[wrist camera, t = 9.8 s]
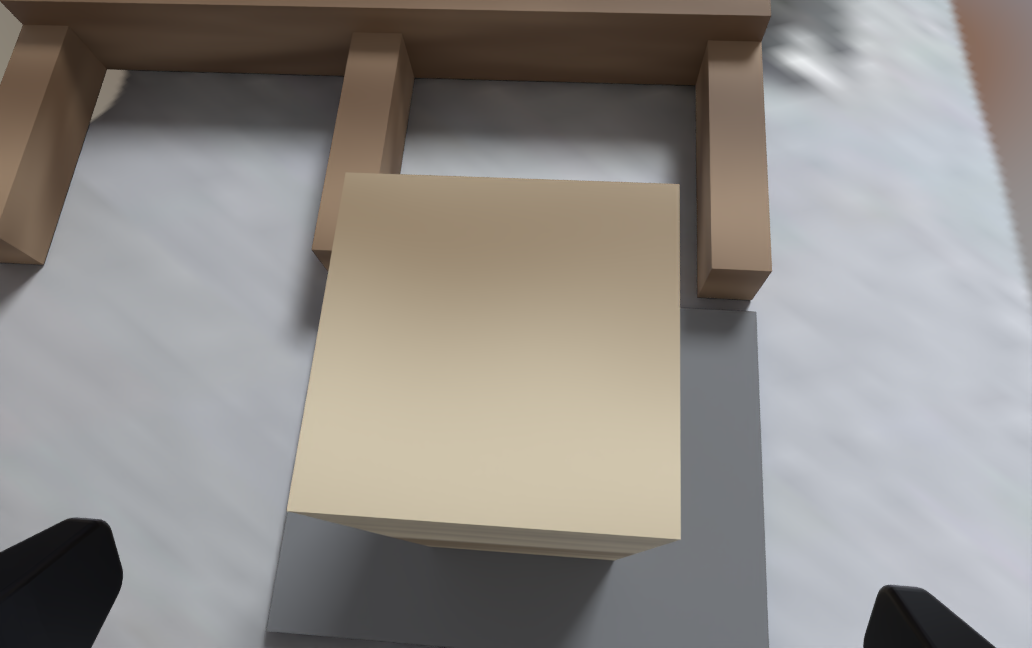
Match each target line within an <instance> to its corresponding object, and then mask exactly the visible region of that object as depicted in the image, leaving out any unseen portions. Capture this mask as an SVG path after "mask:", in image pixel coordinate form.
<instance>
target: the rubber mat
mask: <svg viewBox="0 0 1032 648" xmlns="http://www.w3.org/2000/svg"><path fill="white" fill-rule="evenodd" d="M680 457H681V540H678V541H675V542H671V543H668V544H665V545H662V546H659V547H656V548H652V549H649V550H646V551H643V552H640V553H637V554H633V555H630V556H627V557H624V558H621V559H618V560H601V559H588V558H574V557H561V556H548V555H534V554H521V553H508V552H494V551H481V550H468V549H454V548H441V547H429V546H425V545H421V544H417V543H413V542H409V541H405V540H401V539H397V538H393V537H389V536H385V535H381V534H377V533H373V532H369V531H365V530H361V529H357V528H353V527H349V526H345V525H341V524H337V523H333V522H329V521H325V520H321V519H317V518H313V517H309V516H305V515H301V514H297V513H293V512H289V511H287V517H286V523H285V528H284V534H283V539H282V545H281V551H280V556H279V562H278V568H277V573H276V579H275V585H274V590H273V596H272V601H271V607H270V613H269V618H268V624H267V630H266V631H270V632H282V633H293V634H304V635H315V636H326V637H337V638H349V639H360V640H371V641H382V642H393V643H404V644H416V645H427V646H438V647H449V648H769V637H768V611H767V584H766V558H765V531H764V505H763V478H762V452H761V425H760V399H759V372H758V346H757V319H756V312H753V311H733V310H714V309H694V308H680Z"/></svg>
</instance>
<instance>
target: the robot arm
mask: <svg viewBox="0 0 1032 648" xmlns="http://www.w3.org/2000/svg"><path fill="white" fill-rule="evenodd" d="M122 580H123V570H122V565H121V562H120V558H119V555H118V551H117V548H116V544H115V541H114V537H113V534H112V530H111V528H110V526H109V525H108V524H107V523H106V522H105V521H103V520H100V519H90V518H69V519H66V520H64V521H62V522H60V523H58V524H56V525H54V526H52V527H50V528H48V529H46V530H44V531H42V532H40V533H38V534H36V535H34V536H32V537H30V538H28V539H26V540H24V541H22V542H20V543H18V544H16V545H14V546H12V547H10V548H8V549H6V550H4V551H2V552H0V648H91V647H92V645H93V643H94V641H95V639H96V637H97V635H98V633H99V631H100V629H101V627H102V625H103V623H104V622H105V620H106V618H107V616H108V614H109V612H110V610H111V608H112V606H113V604H114V602H115V600H116V598H117V596H118V594H119V591H120V588H121V585H122ZM863 648H996V647H995V646H993V645H992V644H991V643H990V642H989V641H987V640H986V639H985V638H984V637H982V636H981V635H980V634H979V633H978V632H976V631H975V630H974V629H973V628H972V627H970V626H969V625H968V624H967V623H965V622H964V621H963V620H962V619H961V618H959V617H958V616H957V615H956V614H955V613H953V612H952V611H951V610H950V609H948V608H947V607H946V606H945V605H944V604H942V603H941V602H940V601H939V600H938V599H936V598H935V597H934V596H933V595H931V594H930V593H929V592H927V591H926V590H924V589H922V588H918V587H911V586H899V585H886V586H883V587H882V588H881V589H880V590H879V592H878V594H877V597H876V601H875V604H874V607H873V610H872V613H871V617H870V620H869V623H868V626H867V629H866V633H865V637H864V644H863Z"/></svg>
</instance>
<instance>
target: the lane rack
mask: <svg viewBox="0 0 1032 648" xmlns="http://www.w3.org/2000/svg"><path fill="white" fill-rule="evenodd" d="M0 1H1V3H2V4H3V5H5V7H6V8H7V9H8V10H9V11H10V12H11V13H12V14H13V15H14V16H15V17H16V18H17V19H18V20H19V21H20V22H21V23H22V24H23V26H22V29H21V32H20V34H19V37H18V40H17V42H16V45H15V47H14V50H13V53H12V55H11V58H10V60H9V63H8V66H7V68H6V71H5V74H4V76H3V79H2V81H1V84H0V263H19V264H39V265H44V262H45V259H46V256H47V253H48V250H49V247H50V244H51V240H52V237H53V234H54V231H55V228H56V225H57V222H58V219H59V216H60V213H61V210H62V206H63V203H64V200H65V197H66V194H67V191H68V188H69V185H70V182H71V179H72V176H73V173H74V169H75V166H76V163H77V160H78V157H79V154H80V151H81V148H82V145H83V142H84V139H85V135H86V132H87V129H88V126H89V123H90V120H91V117H92V114H93V111H94V107H95V105H96V102H97V98H98V95H99V92H100V89H101V86H102V83H103V80H104V77H105V74H106V70H107V69H117V70H153V71H189V72H226V73H262V74H298V75H335V76H344V81H343V86H342V91H341V97H340V102H339V107H338V113H337V118H336V123H335V128H334V134H333V139H332V144H331V150H330V155H329V160H328V165H327V171H326V176H325V181H324V187H323V192H322V197H321V203H320V208H319V213H318V218H317V224H316V229H315V234H314V240H313V245H312V251H313V252H314V254H315V255H316V256H317V258H318V259H319V260H320V262H321V263H322V264H323V266H324V267H325V268H326V270H327V271H329V265H330V259H331V253H332V248H333V242H334V236H335V231H336V225H337V219H338V213H339V208H340V202H341V196H342V191H343V185H344V179H345V173H346V172H348V173H376V174H400V171H401V164H402V158H403V151H404V144H405V137H406V131H407V124H408V117H409V111H410V104H411V97H412V91H413V84H414V78H444V79H480V80H517V81H553V82H589V83H626V84H662V85H696V193H697V297H699V298H719V299H739V300H752V299H753V298H754V296H755V295H756V293H757V292H758V290H759V289H760V288H761V286H762V285H763V283H764V282H765V280H766V279H767V278H768V276H769V275H770V273H771V272H772V261H771V240H770V218H769V197H768V175H767V154H766V132H765V111H764V89H763V68H762V46H761V41H762V38H763V36H764V33H765V30H766V28H767V25H768V23H769V20H770V17H771V5H770V0H0Z"/></svg>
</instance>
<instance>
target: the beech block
mask: <svg viewBox="0 0 1032 648" xmlns="http://www.w3.org/2000/svg"><path fill="white" fill-rule="evenodd" d="M287 511H289V512H293V513H297V514H301V515H305V516H309V517H313V518H317V519H321V520H325V521H329V522H333V523H337V524H341V525H345V526H349V527H353V528H357V529H361V530H365V531H369V532H373V533H377V534H381V535H385V536H389V537H393V538H397V539H401V540H405V541H409V542H413V543H417V544H421V545H425V546H429V547H441V548H454V549H468V550H481V551H494V552H508V553H521V554H534V555H548V556H561V557H574V558H588V559H601V560H618V559H621V558H624V557H627V556H630V555H633V554H637V553H640V552H643V551H646V550H649V549H652V548H656V547H659V546H662V545H665V544H668V543H671V542H675V541H678V540H681V457H680V184H661V183H633V182H604V181H576V180H547V179H519V178H490V177H462V176H433V175H405V174H376V173H348V172H346V173H345V179H344V185H343V191H342V196H341V202H340V208H339V213H338V219H337V225H336V231H335V236H334V242H333V248H332V253H331V259H330V265H329V271H328V276H327V282H326V288H325V294H324V299H323V305H322V311H321V316H320V322H319V328H318V334H317V339H316V345H315V351H314V356H313V362H312V368H311V374H310V379H309V385H308V391H307V397H306V402H305V408H304V414H303V419H302V425H301V431H300V437H299V442H298V448H297V454H296V460H295V465H294V471H293V477H292V482H291V488H290V494H289V500H288V505H287Z"/></svg>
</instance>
